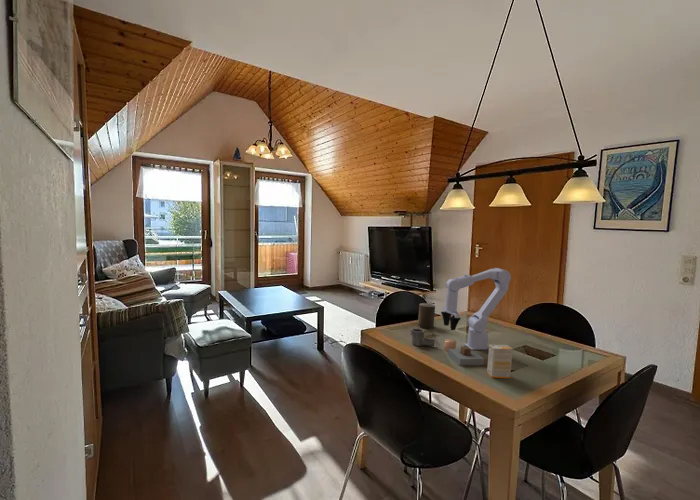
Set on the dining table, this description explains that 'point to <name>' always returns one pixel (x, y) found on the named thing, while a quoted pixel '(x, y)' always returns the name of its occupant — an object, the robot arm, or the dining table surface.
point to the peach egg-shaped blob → (449, 344)
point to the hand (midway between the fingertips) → (449, 327)
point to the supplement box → (499, 361)
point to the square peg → (465, 351)
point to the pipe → (420, 338)
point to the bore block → (465, 357)
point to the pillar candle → (426, 315)
